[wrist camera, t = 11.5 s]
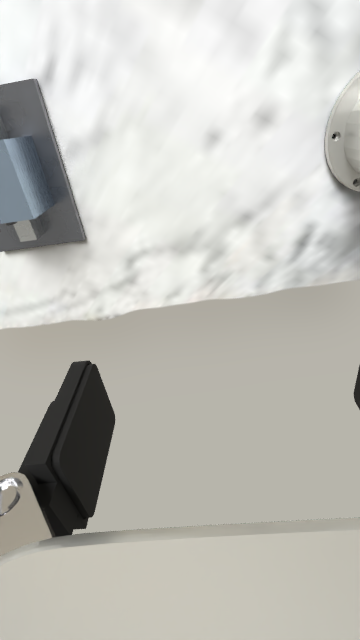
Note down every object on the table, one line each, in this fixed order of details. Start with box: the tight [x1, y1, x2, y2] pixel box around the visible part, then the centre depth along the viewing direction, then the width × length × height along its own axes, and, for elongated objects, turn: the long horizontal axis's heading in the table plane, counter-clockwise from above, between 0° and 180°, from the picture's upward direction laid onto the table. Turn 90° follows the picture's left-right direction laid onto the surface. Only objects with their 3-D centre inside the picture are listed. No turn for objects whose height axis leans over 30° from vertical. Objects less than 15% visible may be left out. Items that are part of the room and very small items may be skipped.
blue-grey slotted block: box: [0, 136, 55, 225], centre depth 33 cm, size 6×7×6 cm
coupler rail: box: [0, 79, 86, 252], centre depth 35 cm, size 11×16×3 cm
